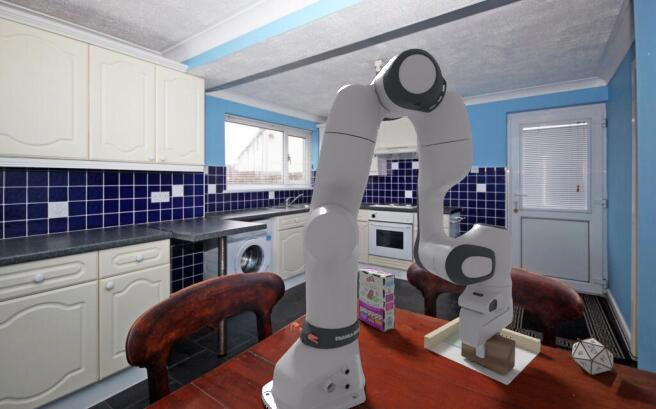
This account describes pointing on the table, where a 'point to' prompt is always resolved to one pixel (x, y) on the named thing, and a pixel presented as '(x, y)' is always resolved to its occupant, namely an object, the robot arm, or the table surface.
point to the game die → (592, 356)
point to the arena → (450, 347)
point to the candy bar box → (377, 298)
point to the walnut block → (494, 354)
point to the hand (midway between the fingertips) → (487, 351)
